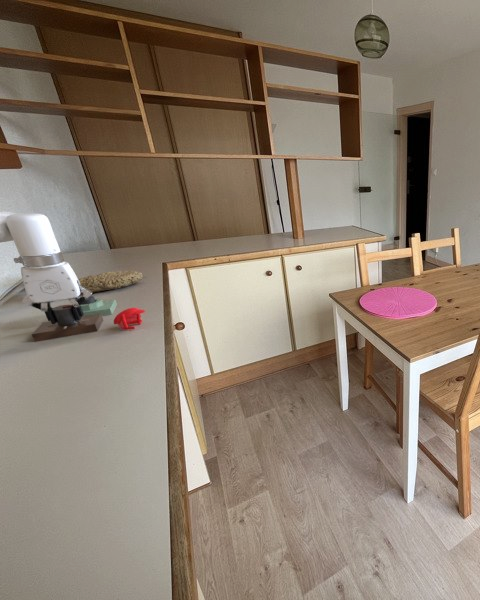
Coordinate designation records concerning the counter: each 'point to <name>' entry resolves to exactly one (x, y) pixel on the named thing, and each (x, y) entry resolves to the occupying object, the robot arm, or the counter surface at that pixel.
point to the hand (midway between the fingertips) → (67, 319)
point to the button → (89, 300)
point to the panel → (68, 328)
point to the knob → (64, 315)
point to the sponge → (110, 280)
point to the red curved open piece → (128, 318)
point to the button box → (99, 307)
